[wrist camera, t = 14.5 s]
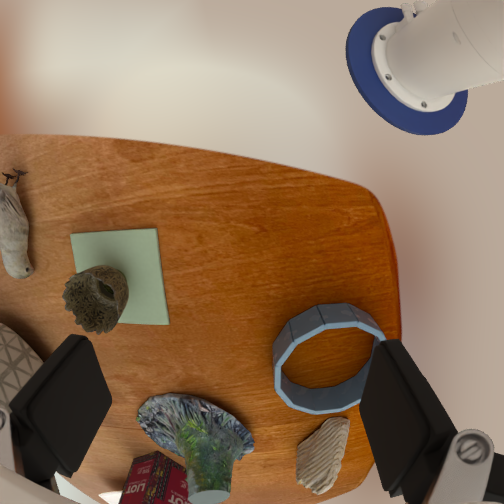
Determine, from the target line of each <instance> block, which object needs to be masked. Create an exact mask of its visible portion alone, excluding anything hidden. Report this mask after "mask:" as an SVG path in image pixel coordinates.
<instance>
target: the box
mask: <svg viewBox="0 0 504 504" xmlns="http://www.w3.org/2000/svg"><path fill="white" fill-rule="evenodd" d="M186 478H187V470H186V468H184V467H183V466H181V465H179V464H178V463H176V462H174V461H173V460H171V459H170V458H168V457H167V456H165V455H164V454H162V453H161V452H159V451H156V452H153V453H150V454H147V455H144V456H141V457H138V458H135V459H133V462H132V465H131V468H130V471H129V474H128V477H127V480H126V482H125V485H124V488H123V491H122V494H121V497H120V500H119V503H118V504H192V503H190V502H189V500H188V494H189V490H188V483H187V481H186V480H185V479H186Z"/></svg>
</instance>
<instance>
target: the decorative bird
mask: <svg viewBox="0 0 504 504" xmlns="http://www.w3.org/2000/svg"><path fill="white" fill-rule="evenodd" d="M13 170H14V171H15V172H17V173H18V176H17V180H16V182H15V184H14V185H13V187H11V186H7V183H8V179H14V178H13V177H16V176H11V175H10V174H4V173H3V172H2V174H3V175H4V176H6V177H7V180H6V184H5V185H4V184H2V183H0V250H1V254H2V259H3V263H4V266H5V269H6V271H7V272H8V274H9V275H10V276H12V277H14V278H17V279H23V278H27V277H28V276H30V275H31V274H32V273H33V272H34V268H33V266H32V265H31V264H30V262H29V259H28V256H27V249H28V232H29V223H28V220H27V217H26V215H25V213H24V211H23V209H22V206H21V203H20V199H19V196H18V194H17V193H16V186H17V182H18V180H19V176H20V174H21V175H24V174H25V175H26V173H24V172H22V171H20V170H15V169H14V168H13ZM27 173H28V172H27Z"/></svg>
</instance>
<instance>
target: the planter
mask: <svg viewBox="0 0 504 504" xmlns="http://www.w3.org/2000/svg"><path fill="white" fill-rule="evenodd" d="M43 363H44V362H43V361H42V360H41V359H40V357H39V356H38V355H37V354H36V353H35V351H34V350H33V349H32V348H31V347H30V346H29V345H28V344H27V343H26V342H25V341H24V340H23V339H22V338H21V337H20V336H19V335H18V334H17V333H15V332H14V331H13V330H12V329H10V328H9V327H7V326H6V325H4V324H3V323H1V322H0V407H3V408H5V409H6V410H7V411H8V413H9V414H10V413H11V412H12V411H11V409H10V407H9V406H8V405H9V403H10V402H11V401H12V400H13V398H14V397H15V396H16V395H17V394H18V392H19V391H20V390H21V389H22V388H23V386H24V385H25V384H26V383H27V382H28V381H29V379H30V378H31V377H32V376H33V375H34V374H35V372H36V371H37V370H38V369H39V368H40V367H41V366H42V365H43Z"/></svg>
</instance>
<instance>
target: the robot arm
mask: <svg viewBox="0 0 504 504" xmlns="http://www.w3.org/2000/svg"><path fill="white" fill-rule="evenodd" d="M414 7H415V10H416V14H417V16H416V17H415V18H414V17H413V11H412V7H411V5H410V4H407V3H404V4H402V5H401V8H402V12H403V14H404V18H403V20H402V21H400V22H394V23H390V24H387V25H386V26H384V27H383V28H381V29H380V30H379V31H378V32H377V34H376V36H375V37H374V39H373V42H372V48H371V55H372V62H373V65H374V68H375V71H376V73H377V75H378V77H379V79H380V80H381V82H382V83H383V85H384V86H385V88H386V89H387V90H388V91H389V92H390V93H391V95H392V96H394V97H395V98H396V99H397V100H398V101H399V102H401V103H402V104H404V105H406V106H407V107H409V108H412V109H414V110H417V111H421V112H434V111H438V110H441V109H443V108H445V107H446V106H448V105H449V103H450V102H451V101H452V100H453V97H454V95H455V93H456V92H460V91H463V90H467V89H471V88H475V87H478V86H483V85H487V84H491V83H495V82H499V81H503V80H504V0H436V1H435V2H434V3H432V4H431V5H430V6H429V7H428V5H427V3H426V2H424V1H416V2H414ZM386 78H387V79H386ZM111 404H112V396H111V394H110V391H109V389H108V386H107V384H106V381H105V379H104V376H103V373H102V371H101V368H100V365H99V362H98V360H97V357H96V354H95V351H94V348H93V345H92V343H91V341H89V340H88V338H87V337H86V336H83V335H76V334H71V335H69V336H68V337H67V338H66V339H65V340H64V341H63V343H62V344H61V345H60V346H59V347H58V348H57V349H56V350H55V351H54V352H53V353H52V355H51V356H50V357H49V358H48V359H47V360H46V361H45V362H44V363H43V365H42V366H41V367H40V368H39V369H38V370H37V371H36V372H35V374H34V375H33V376H32V377H31V378H30V379H29V381H28V382H27V383H26V384H25V385H24V386H23V388H22V389H21V390H20V391H19V392H18V394H17V395H16V396H15V397H14V398H13V400H12V401H11V402H10V403H9V405H8V406H9V407H10V409H11V411H12V412H11V413H10V414H9V413H8V411H7V410H6V409H5V408H3V407H0V504H80V503H77V502H75V501H73V500H70V499H68V498H66V497H63V496H61V495H60V493H59V489H58V486H57V483H56V480H55V476H54V474H55V472H56V471H57V472H58V473H59V474H61V475H64V476H66V477H69V478H71V477H72V475H73V472H76V471H77V470H78V469H79V467H80V465H81V463H82V461H83V459H84V457H85V455H86V453H87V451H88V449H89V447H90V445H91V443H92V441H93V439H94V437H95V435H96V433H97V431H98V429H99V427H100V425H101V423H102V422H103V420H104V418H105V416H106V414H107V412H108V410H109V408H110V407H111ZM359 411H360V415H361V418H362V421H363V424H364V427H365V430H366V434H367V437H368V440H369V443H370V446H371V450H372V453H373V456H374V459H375V463H376V466H377V470H378V473H379V476H380V480H381V483H382V487H383V489H384V491H389V494H390V497H391V498H392V497H396V496H399V495H403V496H404V500H405V502H406V503H405V504H504V455H501V454H498V453H494V445H493V442H492V440H491V439H490V437H489V436H488V435H487V434H485V433H484V432H482V431H480V430H476V429H467V430H463V431H461V432H459V433H458V431H457V430H456V428H455V426H454V424H453V423H452V421H451V419H450V418H449V416H448V414H447V412H446V411H445V409H444V407H443V406H442V404H441V402H440V401H439V399H438V397H437V396H436V394H435V392H434V391H433V389H432V388H431V386H430V384H429V383H428V382H427V380H426V378H425V377H424V376H423V375H422V373H421V372H420V371H419V369H418V367H417V366H416V364H415V362H414V361H413V359H412V358H411V356H410V355H409V353H408V352H407V350H406V349H405V347H404V346H403V345H402V343H401V341H400V340H399V339H391V340H382V341H381V342H380V344H379V345H377V346H375V348H374V352H373V356H372V360H371V364H370V368H369V372H368V376H367V380H366V383H365V387H364V390H363V394H362V397H361V401H360V405H359Z"/></svg>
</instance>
